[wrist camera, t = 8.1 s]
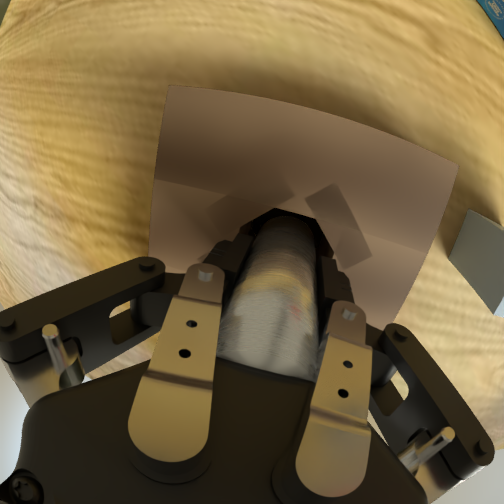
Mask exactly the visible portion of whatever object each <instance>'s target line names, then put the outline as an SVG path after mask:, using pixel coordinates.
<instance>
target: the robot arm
mask: <svg viewBox="0 0 504 504" xmlns="http://www.w3.org/2000/svg"><path fill="white" fill-rule="evenodd" d="M252 243H253V237H252V236H249V235H245V234H241V233H238V234H237V235H236V237H235V239H234V240H233V242H231V241H228V240H223V241H220V242H218V243H216V245H215V246H214V247H213V249H212V250H211V251H210V253H209V254H208V255H207V257H206V258H205V259H204V261H203V262H202V263H197V264H193V265H191V266H189V267H188V269H187V272H186V273H170V272H165V269H166V266H165V264H164V263H163V262H162V261H161V260H159V259H157V258H154V257H138V258H135V259H132V260H129V261H127V262H124V263H121V264H119V265H116V266H113V267H110V268H108V269H105V270H103V271H100V272H97V273H95V274H92V275H89V276H87V277H84V278H82V279H79V280H77V281H74V282H71V283H69V284H66V285H64V286H61V287H59V288H56V289H54V290H51V291H49V292H46V293H44V294H41V295H39V296H36V297H34V298H32V299H29V300H27V301H24V302H22V303H20V304H17V305H15V306H12V307H10V308H8V309H5V310H3V311H1V312H0V358H1V360H2V362H3V364H4V366H5V368H6V370H7V371H8V373H9V375H10V377H11V378H12V380H13V381H14V382H15V383H16V385H17V387H18V388H19V390H20V392H21V393H22V394H23V396H24V398H25V400H26V402H27V404H28V406H29V408H30V409H29V411H28V412H27V414H26V417H25V419H24V423H23V428H22V439H21V448H20V453H19V458H18V461H17V464H16V467H15V469H14V471H13V473H12V474H11V475H10V476H9V477H8V478H7V479H6V480H5V481H4V482H3V483H2V484H0V504H431V503H432V502H433V501H435V500H436V499H437V498H439V497H440V496H442V495H443V494H444V493H446V492H448V491H450V490H451V489H453V488H455V487H456V486H458V485H459V484H461V483H463V482H464V481H466V480H467V479H469V478H470V477H472V476H473V475H475V474H476V473H478V472H479V471H480V470H482V469H483V468H485V467H486V466H488V465H489V464H490V463H491V462H492V461H493V458H494V454H495V450H494V445H493V443H492V441H491V439H490V437H489V436H488V434H487V433H486V431H485V430H484V428H483V427H482V425H481V424H480V422H479V421H478V419H477V418H476V416H475V415H474V414H473V412H472V411H471V409H470V408H469V406H468V405H467V404H466V402H465V401H464V399H463V398H462V397H461V395H460V394H459V393H458V391H457V390H456V388H455V387H454V386H453V384H452V383H451V382H450V380H449V379H448V378H447V376H446V375H445V374H444V372H443V371H442V370H441V369H440V367H439V366H438V365H437V363H436V362H435V361H434V360H433V358H432V357H431V356H430V355H429V353H428V352H427V351H426V350H425V348H424V347H423V346H422V345H421V343H420V342H419V341H418V340H417V338H416V337H415V336H414V335H413V334H412V332H411V331H410V330H408V329H407V328H406V327H404V326H402V325H399V324H396V323H390V324H387V325H386V327H385V328H384V330H383V331H382V330H380V329H378V328H375V327H373V326H371V325H369V324H368V323H366V314H365V312H364V311H363V310H362V309H361V308H360V307H359V306H357V305H356V304H355V302H354V297H353V293H352V289H351V284H350V280H349V278H348V277H347V276H346V275H345V273H344V272H341V271H338V268H337V263H336V259H332V258H328V257H325V256H320V257H319V259H318V262H317V265H316V271H317V294H318V334H319V350H318V355H317V360H316V365H315V366H316V372H315V373H314V379H313V381H310V380H305V379H300V378H296V377H291V376H287V375H283V374H278V373H274V372H270V371H266V370H262V369H258V368H255V367H251V366H247V365H244V364H240V363H237V362H233V361H230V360H226V359H223V358H220V357H216V350H217V341H218V332H219V324H220V316H221V314H222V312H223V309H224V307H225V305H226V303H227V300H228V298H229V296H230V294H231V292H232V290H233V288H234V285H235V283H236V281H237V279H238V277H239V274H240V272H241V270H242V268H243V266H244V263H245V261H246V259H247V257H248V254H249V252H250V250H251V247H252ZM128 301H130V309H127V310H125V311H123V312H121V313H119V314H117V315H115V316H113V317H111V318H109V316H110V313H111V312H112V310H113V309H114V308H116V307H117V306H119V305H122V304H124V303H126V302H128ZM160 330H161V331H160ZM159 331H160V334H159V337H158V340H157V343H156V346H155V349H154V352H153V355H152V358H151V359H150V360H147V361H144V362H142V363H139V364H136V365H134V366H131V367H128V368H125V369H123V370H120V371H117V372H114V373H111V374H108V375H106V376H103V377H100V378H97V379H94V380H91V381H88V382H85V383H82V382H83V380H84V377H85V374H87V373H89V372H91V371H92V370H94V369H96V368H98V367H99V366H101V365H103V364H105V363H106V362H108V361H110V360H111V359H113V358H115V357H117V356H118V355H120V354H122V353H124V352H125V351H127V350H129V349H130V348H132V347H134V346H136V345H137V344H139V343H141V342H142V341H144V340H146V339H147V338H149V337H151V336H152V335H154V334H156V333H158V332H159ZM397 370H398V372H399V373H400V375H401V376H402V377H403V379H404V380H405V382H406V383H407V385H408V388H409V393H408V396H407V398H406V399H405V400H403V398H402V397H401V395H400V394H399V392H398V391H397V389H396V387H395V386H394V384H393V383H392V381H391V380H390V379H391V378H392V376H393V375H394V374H395V372H396V371H397ZM81 383H82V384H81ZM368 409H369V411H370V412H371V414H372V416H373V418H374V419H375V422H376V423H377V425H378V427H379V429H380V431H381V433H382V434H383V436H384V438H385V440H386V442H387V444H388V445H387V444H386V443H385V442H384V440H383V439H382V438H381V437H380V435H379V434H378V433H377V432H376V431H375V429H374V428H373V427H372V426H371V425H370V423H369V422H368V421H367V417H368Z"/></svg>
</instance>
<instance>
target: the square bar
mask: <svg viewBox="0 0 504 504" xmlns="http://www.w3.org/2000/svg"><path fill="white" fill-rule="evenodd" d="M448 259H449V261H450V262H451V263H452V264H453V265H454V266H455V267H456V268H457V270H458V271H459V272H460V273H461V274H462V275H463V277H464V278H465V279H466V280H467V281H468V283H469V284H470V285H471V286H472V288H473V289H474V290H475V291H476V293H477V294H478V295H479V296H480V298H481V299H482V300H483V301H484V303H485V304H486V305H487V307H488V308H489V309H490V311H491V312H492V313H493V315H496V316H500V317H503V318H504V227H503V226H501V225H499V224H497V223H496V222H494V221H492V220H490V219H488V218H486V217H484V216H482V215H481V214H479V213H477V212H475V211H473V210H471V209H468V211H467V214H466V217H465V220H464V222H463V225H462V227H461V230H460V232H459V235H458V237H457V240H456V242H455V244H454V247H453V249H452V251H451V253H450V256H449V258H448Z"/></svg>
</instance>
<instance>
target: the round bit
mask: <svg viewBox="0 0 504 504" xmlns="http://www.w3.org/2000/svg"><path fill="white" fill-rule="evenodd" d="M318 350H319V334H318V294H317V271H316V253H315V240H314V236H313V233H312V231H311V229H310V228H309V227H308V226H307V224H305V223H304V222H303V221H301V220H300V219H298V218H295V217H292V216H278V217H275V218H272V219H270V220H268V221H267V222H266V223H265V224H264V225H263V226H262V227H261V228H260V230H259V232H258V234H257V237H256V239H255V241H254V243H253V245H252V248H251V250H250V252H249V254H248V257H247V259H246V261H245V263H244V266H243V268H242V270H241V272H240V274H239V277H238V279H237V281H236V283H235V285H234V288H233V290H232V292H231V294H230V296H229V298H228V300H227V303H226V305H225V307H224V309H223V312H222V314H221V316H220V324H219V332H218V341H217V350H216V357H220V358H223V359H226V360H230V361H233V362H237V363H240V364H244V365H247V366H251V367H255V368H258V369H262V370H266V371H270V372H274V373H278V374H283V375H287V376H291V377H296V378H300V379H305V380H310V381H313V379H314V373H315V372H316V366H315V365H316V360H317V355H318Z"/></svg>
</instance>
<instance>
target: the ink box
mask: <svg viewBox="0 0 504 504" xmlns="http://www.w3.org/2000/svg"><path fill="white" fill-rule="evenodd" d="M477 1H478V2H479V4H480V5H481V6H482V8H483V9H484V10H485V12H486V13H487V14H488V16H489V17H490V19H491V20H492V22H493V23H494V25H495V26H496V28H497V29H498V31H499V32H500V34H501V36H502V37H503V39H504V0H477Z"/></svg>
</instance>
